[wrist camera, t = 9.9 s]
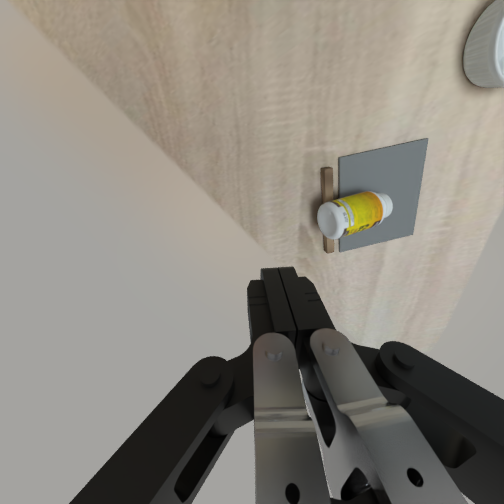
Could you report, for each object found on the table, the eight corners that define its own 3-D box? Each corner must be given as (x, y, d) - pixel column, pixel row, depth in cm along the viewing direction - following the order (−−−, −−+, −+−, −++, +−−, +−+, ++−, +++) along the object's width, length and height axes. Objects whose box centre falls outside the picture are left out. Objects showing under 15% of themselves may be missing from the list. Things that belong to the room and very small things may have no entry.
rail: (320, 168, 35) (324, 169, 33) (328, 166, 35) (332, 167, 33) (323, 250, 41) (327, 253, 40) (330, 248, 41) (334, 251, 40)
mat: (338, 157, 34) (339, 157, 34) (426, 138, 35) (428, 138, 35) (339, 251, 42) (340, 252, 41) (411, 233, 43) (412, 234, 42)
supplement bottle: (344, 238, 31) (402, 219, 33) (332, 198, 31) (391, 181, 33) (321, 242, 36) (373, 225, 39) (311, 208, 36) (364, 193, 39)
